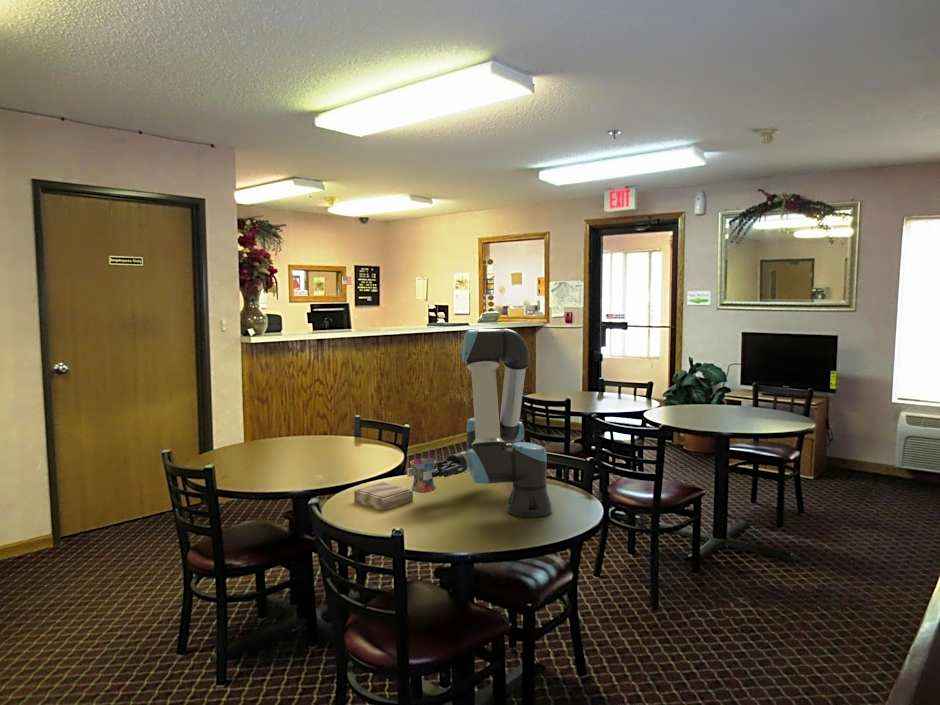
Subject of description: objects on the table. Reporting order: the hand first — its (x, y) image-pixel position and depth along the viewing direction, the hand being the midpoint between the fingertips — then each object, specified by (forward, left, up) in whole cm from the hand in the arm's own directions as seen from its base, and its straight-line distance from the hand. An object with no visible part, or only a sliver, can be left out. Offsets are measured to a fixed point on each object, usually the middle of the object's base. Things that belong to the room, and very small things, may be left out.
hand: (416, 474), depth 226 cm
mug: (0, -5, -7) cm, 8 cm away
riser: (+14, +3, -12) cm, 19 cm away
